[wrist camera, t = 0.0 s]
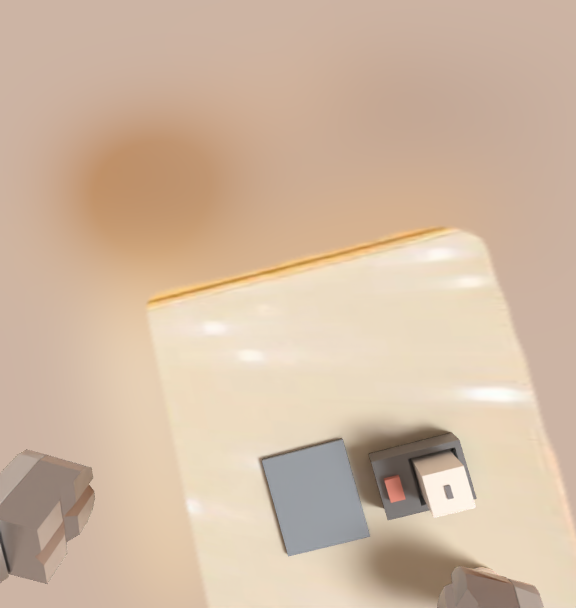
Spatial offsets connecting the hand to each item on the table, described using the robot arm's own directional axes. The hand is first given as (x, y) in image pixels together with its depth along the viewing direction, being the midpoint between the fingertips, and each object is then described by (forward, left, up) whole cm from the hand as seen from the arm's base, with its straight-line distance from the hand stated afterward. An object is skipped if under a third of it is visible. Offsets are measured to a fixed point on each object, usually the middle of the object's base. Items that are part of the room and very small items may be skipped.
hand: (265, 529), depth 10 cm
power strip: (-21, -9, -54) cm, 59 cm away
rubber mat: (-21, +6, -54) cm, 59 cm away
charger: (-21, -11, -53) cm, 58 cm away
